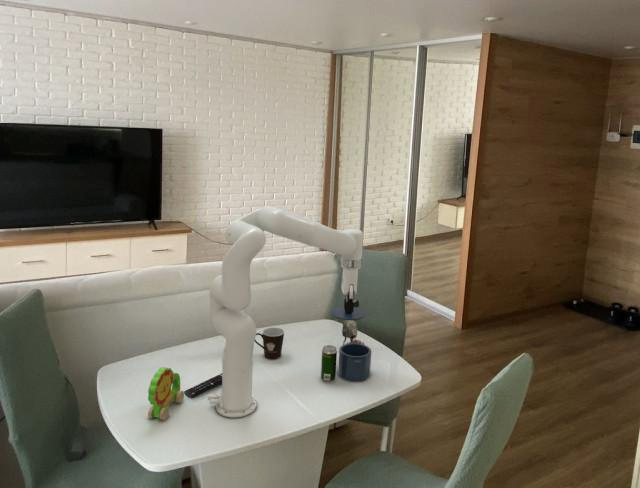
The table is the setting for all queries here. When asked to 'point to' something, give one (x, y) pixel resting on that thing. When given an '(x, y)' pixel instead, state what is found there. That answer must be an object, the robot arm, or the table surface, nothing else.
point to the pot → (354, 362)
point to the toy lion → (164, 392)
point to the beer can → (328, 363)
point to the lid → (348, 314)
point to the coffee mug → (272, 342)
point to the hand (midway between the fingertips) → (348, 310)
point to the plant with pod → (351, 328)
